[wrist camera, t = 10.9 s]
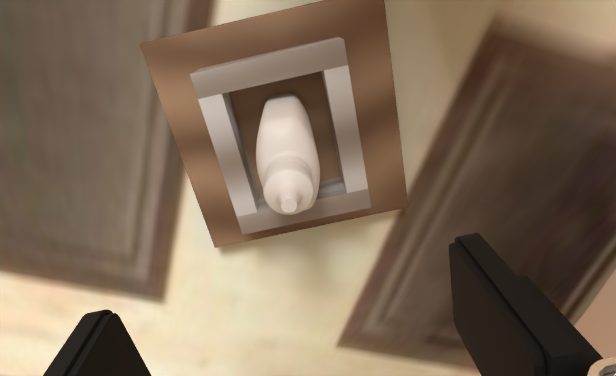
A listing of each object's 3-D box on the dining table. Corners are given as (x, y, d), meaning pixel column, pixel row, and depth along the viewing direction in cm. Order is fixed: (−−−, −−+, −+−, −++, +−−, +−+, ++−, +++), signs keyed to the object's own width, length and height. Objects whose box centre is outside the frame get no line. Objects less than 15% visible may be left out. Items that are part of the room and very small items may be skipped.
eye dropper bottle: (330, 105, 27) (359, 164, 16) (303, 174, 29) (313, 269, 18) (270, 83, 26) (260, 130, 15) (247, 157, 28) (223, 244, 17)
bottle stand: (146, 42, 26) (121, 46, 22) (377, -12, 26) (394, -18, 22) (218, 238, 33) (208, 269, 29) (402, 198, 32) (420, 225, 28)
